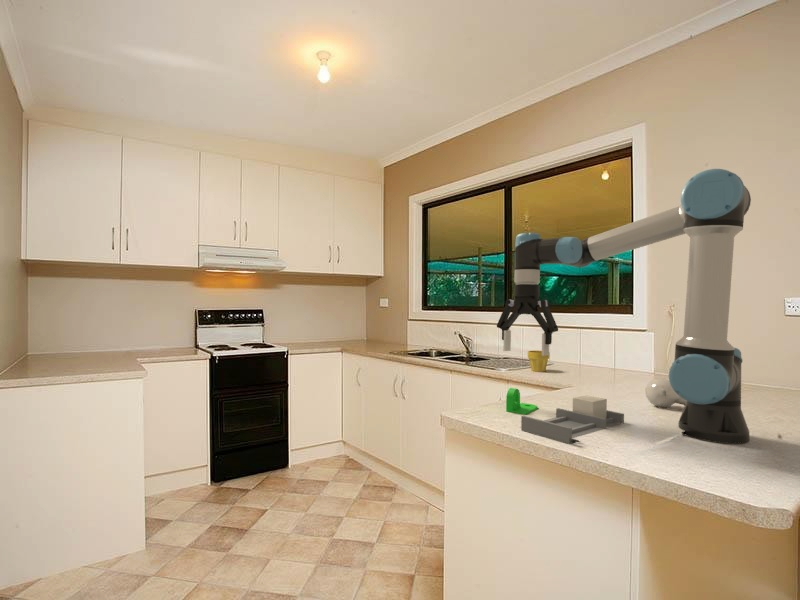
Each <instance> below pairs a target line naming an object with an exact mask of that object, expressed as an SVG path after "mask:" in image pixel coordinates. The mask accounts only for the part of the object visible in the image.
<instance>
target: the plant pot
mask: <svg viewBox="0 0 800 600" xmlns="http://www.w3.org/2000/svg"><path fill="white" fill-rule="evenodd" d="M527 359H529V361H528V362H529V364H530V369H531V372H535V373H543V372H546V370H547V366H548V361H549V360H550V354H549V355H546V356H542V350H527Z"/></svg>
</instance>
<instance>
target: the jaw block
mask: <svg viewBox="0 0 800 600" xmlns="http://www.w3.org/2000/svg"><path fill="white" fill-rule="evenodd" d="M607 399H608V398H603V397H599V396H592V395H581V396H576V397H573V398H572V411H574V412H578V413H583V414H587V415H592V416H596V417H601V418H605V419H606V417H607V407H608V406H607V402H608V401H607Z"/></svg>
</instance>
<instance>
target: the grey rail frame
mask: <svg viewBox="0 0 800 600" xmlns="http://www.w3.org/2000/svg"><path fill="white" fill-rule="evenodd" d="M555 410H556V411H555V412H556V413H555V415H556V417H553V418H548V419H544V420H542V419H539V418H534V417H530V416H527V415H521V423H520V424H521V425H520V428H521V429H520V430H521V431H523V432H526V433H530V434H533V435H537V436H540V437H544V438H547V439H550V440H553V441H558V442H561V443H565V444H568V445H570V444H571V445H572V444H573V443H578V442H579V440H577V439H575V438H579V437H581V436H584V435H589V434H591V433H595V432H599V431H601V430H605V429H609V428H612V427H615V426H620V425H622V424H624V423H625V413H622V412H617V411H612V410H607V417H606V419H605V418H601V417H596V416H592V415H587V414H583V413H578V412H574V411H573V410H569V409H568V410H567V409H563V408H561V407H560V408H559V407H558V408H556V409H555Z"/></svg>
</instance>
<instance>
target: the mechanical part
mask: <svg viewBox="0 0 800 600" xmlns="http://www.w3.org/2000/svg"><path fill="white" fill-rule="evenodd" d="M505 397H506V398H505V399H506V403H505V404H506V406H505V407H506V408H505V409H506V410H505V411H506V412H507V413H512V414H520V415H523V416H527V415H528V414H530V413H532V412H534V411H536V410H538V409H539V408H538V405H537V404H532V403H525V402H521V392H520V390H519V389H518V388H513V387H510V388H508V390H507V393H506V396H505Z"/></svg>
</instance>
